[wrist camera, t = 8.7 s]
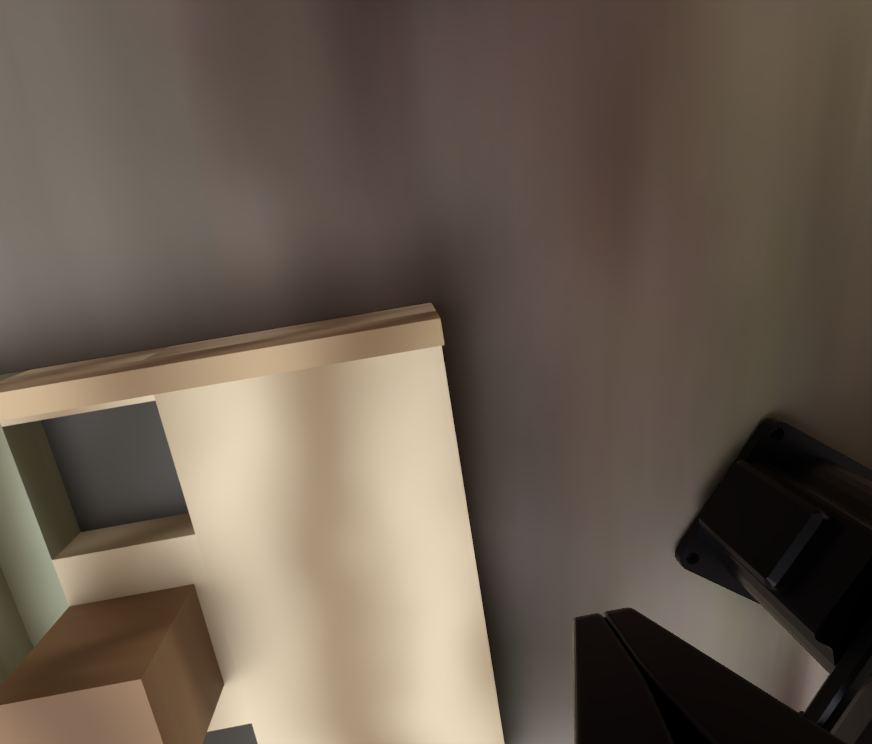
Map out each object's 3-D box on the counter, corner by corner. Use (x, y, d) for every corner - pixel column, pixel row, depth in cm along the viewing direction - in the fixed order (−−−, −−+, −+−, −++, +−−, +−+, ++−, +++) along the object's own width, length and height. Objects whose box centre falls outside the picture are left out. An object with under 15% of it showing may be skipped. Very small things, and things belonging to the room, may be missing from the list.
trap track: (431, 302, 19) (443, 324, 14) (502, 752, 23) (528, 872, 19) (-45, 382, 18) (-184, 430, 14) (128, 827, 23) (67, 967, 18)
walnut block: (193, 583, 18) (140, 679, 14) (224, 684, 19) (182, 798, 15) (69, 606, 18) (-19, 708, 14) (106, 706, 19) (34, 827, 15)
